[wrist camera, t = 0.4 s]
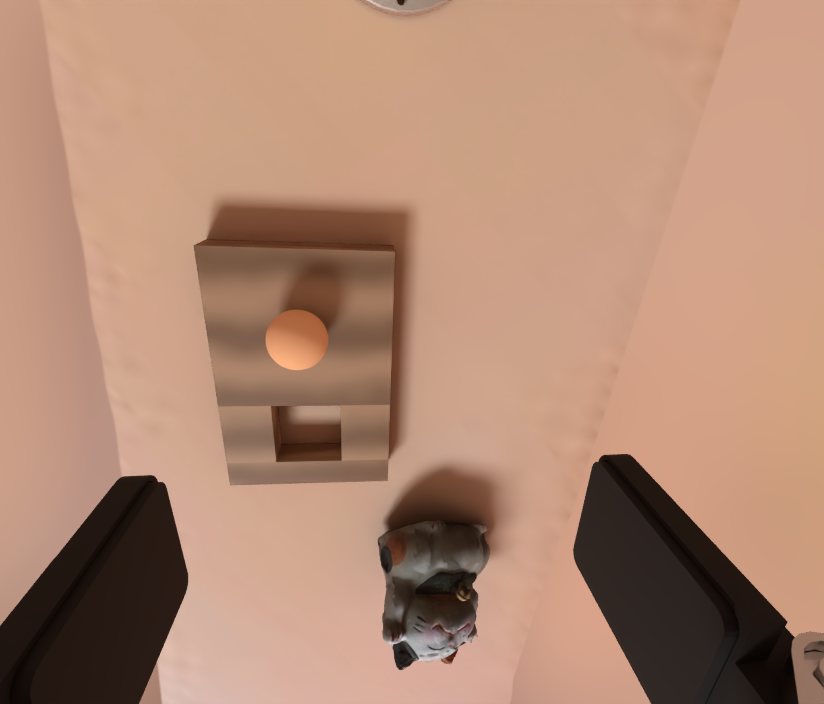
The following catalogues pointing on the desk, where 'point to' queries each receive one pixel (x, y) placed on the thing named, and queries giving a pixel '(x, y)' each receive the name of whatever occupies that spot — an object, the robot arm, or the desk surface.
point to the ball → (296, 339)
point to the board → (316, 386)
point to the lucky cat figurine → (431, 588)
